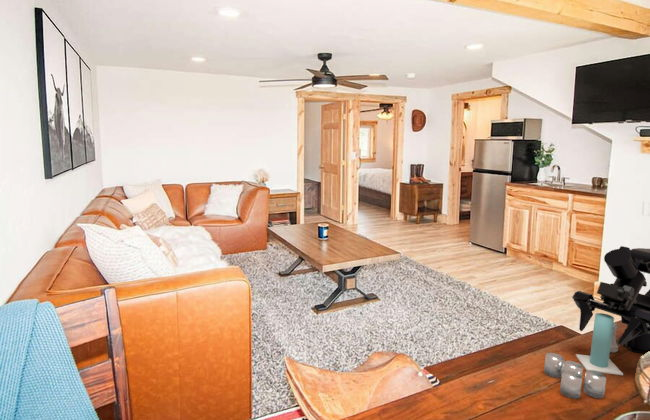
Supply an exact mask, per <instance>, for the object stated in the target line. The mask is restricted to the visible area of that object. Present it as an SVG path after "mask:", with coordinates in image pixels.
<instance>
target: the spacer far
mask: <svg viewBox="0 0 650 420" xmlns="http://www.w3.org/2000/svg"><path fill="white" fill-rule="evenodd" d="M583 379H584V378H583V375H582V376H581V375H579V374H578V373H575V372H572V371H563V372H562V377H561V379H560V380H561V381H560V389H559V392H560V394H561V395H563V396H564V397H566V398H569V399H571V400H572V399H573V400H577V399H580V398H581V393H582V387H583Z"/></svg>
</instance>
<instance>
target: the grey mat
mask: <svg viewBox="0 0 650 420" xmlns="http://www.w3.org/2000/svg"><path fill="white" fill-rule="evenodd" d="M575 357H576V358H577V359H578V360H579V362H580V364H581V365H582V366H583V368H584V369H585V370H586V371H588V370H592V371H597V372H600V373H602V374H607V375H608V374H610V375H616V376H624V373H623V372H622V371H621V370H620V369H619V368H618V367H617V366H616V364H615V363H614V362H613V361H612V360H611V358H609V362H608V367H606V368H602V367H598V366H595V365H593V364H591V363H590V355H585V354H578V353H576V354H575Z"/></svg>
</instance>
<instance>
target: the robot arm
mask: <svg viewBox="0 0 650 420" xmlns="http://www.w3.org/2000/svg"><path fill="white" fill-rule="evenodd" d="M603 260H604V262H605V264H606V266H607V267H608V269H609V271H610V272H611V274H612V276H614V278H615V280H614V282H613V283H606V282H603V281H600V283H599V286H598V289H597V291H596V294H598V295H600V300H601V301H602V302H601V301H598V300H595V298H594V296H593V294H591V293H587V292H584V291H581V290H577V291H575V292H574V293H573V295H572V299H573V301H574V303H575V305H576V307H577V308H578V309H579V310H580V314H579V315H580V316H579V326H578V327H579V329H578V330H579V331H580V332H582V331H584V330H585V329H586V327H587V325H588V324H589V322H590V320H591V319H592V317H593V316H594V311H595V310H596V309H597V310H600V311H603V312H606V313H610V314H613V315H616V316H619V317H621V319H620V320H621V323H622V324H625V325H626V327H625V329H624V330H623V331H624V332H623V333H622V335H620V338H619V339H618V342H617V345H618V346H619V347H621V346H623V345H625V346H626V348H628V349H629V350H630V351H631V352H633V353H641V354H647V353H646V352H648V351H650V289H648V291H647V292H645V293H644V294H641V293H640V291H641V289H642V288H643V287H645V288H646V287H647V286H648V285H647V284H648V283H647V279H646V276H645V275H644V274H648V275H650V248H641V247H637V248H632V249H630V247H628V246H623V245H620V247H619V248H617V249H616V248H615V249H612V250H609V252H606V253H605V254H604V256H603Z"/></svg>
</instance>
